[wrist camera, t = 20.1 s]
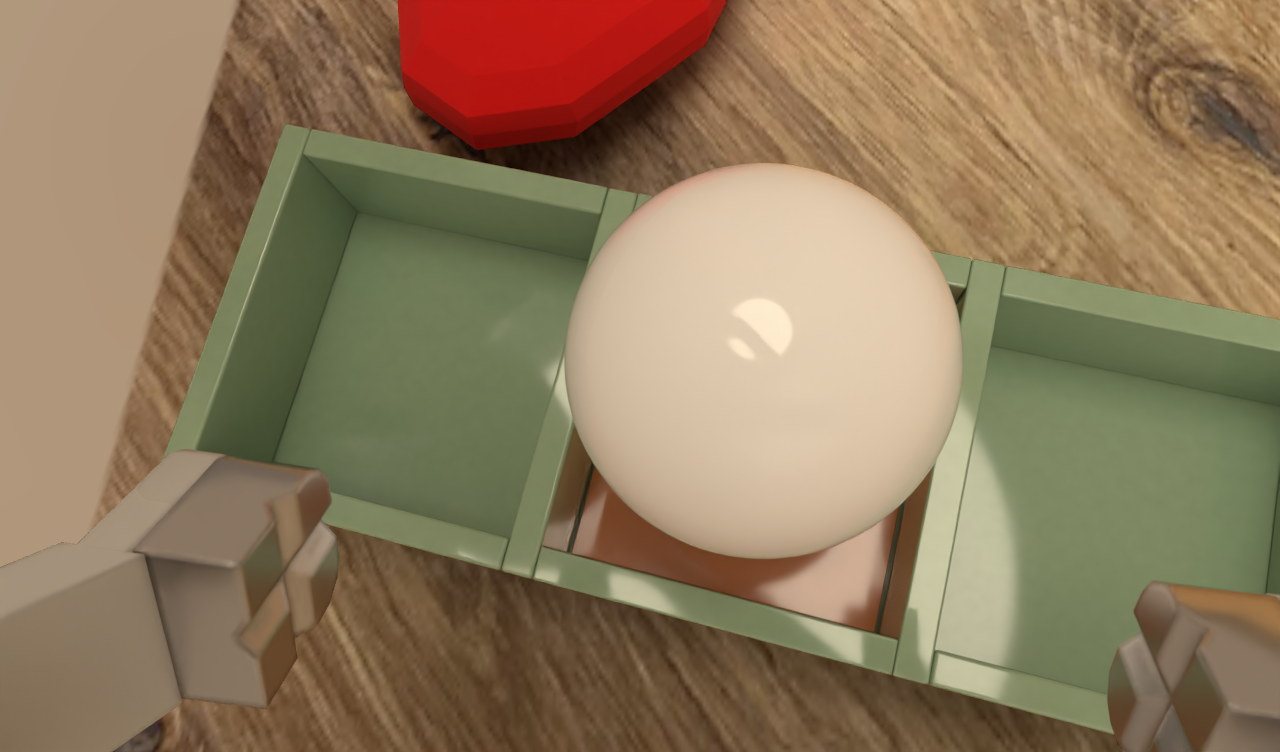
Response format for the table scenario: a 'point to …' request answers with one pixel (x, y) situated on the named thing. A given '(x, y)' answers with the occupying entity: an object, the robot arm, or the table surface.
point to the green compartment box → (689, 576)
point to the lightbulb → (763, 360)
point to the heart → (540, 60)
